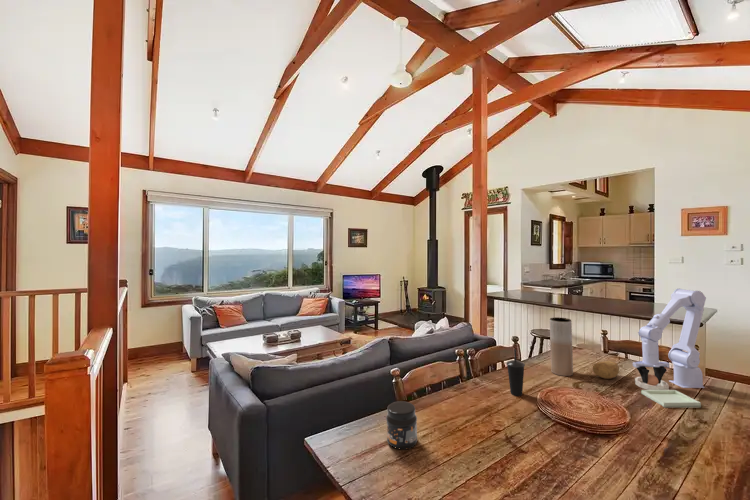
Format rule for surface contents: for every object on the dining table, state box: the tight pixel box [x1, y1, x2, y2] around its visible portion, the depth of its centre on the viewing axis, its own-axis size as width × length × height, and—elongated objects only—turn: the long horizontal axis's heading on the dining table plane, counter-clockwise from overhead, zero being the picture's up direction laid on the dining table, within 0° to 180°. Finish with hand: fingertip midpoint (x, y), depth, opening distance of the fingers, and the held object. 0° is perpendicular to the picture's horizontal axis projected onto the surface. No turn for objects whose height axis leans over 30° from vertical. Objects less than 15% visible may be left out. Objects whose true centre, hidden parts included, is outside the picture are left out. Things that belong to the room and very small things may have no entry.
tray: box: [641, 389, 702, 409], centre depth 138 cm, size 14×12×2 cm
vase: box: [549, 316, 574, 377], centre depth 171 cm, size 10×10×28 cm
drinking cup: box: [506, 348, 526, 397], centre depth 148 cm, size 8×8×20 cm
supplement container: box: [385, 400, 418, 450], centre depth 114 cm, size 10×10×12 cm
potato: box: [592, 360, 620, 380], centre depth 163 cm, size 10×14×8 cm
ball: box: [648, 373, 659, 386], centre depth 151 cm, size 5×5×5 cm
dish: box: [634, 376, 670, 390], centre depth 151 cm, size 12×12×2 cm
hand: (651, 382), depth 151 cm, fingers closed on ball, 5 cm apart
